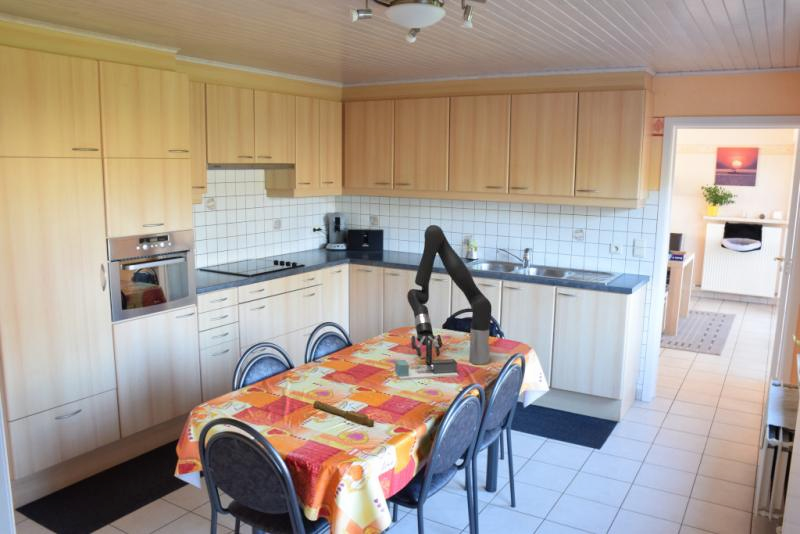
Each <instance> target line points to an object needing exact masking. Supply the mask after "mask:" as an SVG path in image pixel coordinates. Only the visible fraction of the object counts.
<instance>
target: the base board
mask: <svg viewBox="0 0 800 534" xmlns="http://www.w3.org/2000/svg"><path fill="white" fill-rule="evenodd" d="M393 372H394V374H395V375H396V377H397V378H398V380H399V381H406V380H407V379H410V380H425V379H424V378H428V379H439V378H438V377H446V378H459V375H460V374H458V372H457V373H442V374H434V373H433V372H432V371H426V370H419V371H417V369H416V368H414V369H413V368H412V369H410V368H409V376H406V377H399V376H398V375H397V373H396V372H395V369H394V370H393ZM407 381H408V380H407Z"/></svg>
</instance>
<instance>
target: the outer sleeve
mask: <svg viewBox="0 0 800 534" xmlns="http://www.w3.org/2000/svg"><path fill="white" fill-rule="evenodd" d="M432 364H434V370H431V371H432V372H433V373H434V374H442V373H457V374H458V372H457V371H458V370H457V369H458V367H457V366H458V362H457V361H456V360H455V359H454V358H452V359H451V358H447V359H432Z"/></svg>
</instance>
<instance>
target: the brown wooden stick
mask: <svg viewBox="0 0 800 534" xmlns="http://www.w3.org/2000/svg"><path fill="white" fill-rule="evenodd" d="M312 406H313V408H316V409H319V410H321V409H322V411H324V412H328V413H330V414H331V413H332V414H334V415H337V416H341V417H343V418H345V419H346V420H347V421H349V422H351V423H355V424H358V425H360V424H361V425H360V426H366V425H367V426H368V427H373V426H374V424H375V420H374V419H372V418H369V416H368V415H367V414H364V413H360V412H359V411H354V410H343V409H341V408H338V407H336V406H334V405H331V404H328V403H325V402H322V401H320V400H315V401H314V402H313V405H312ZM365 424H366V425H365Z"/></svg>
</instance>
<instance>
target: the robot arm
mask: <svg viewBox="0 0 800 534" xmlns="http://www.w3.org/2000/svg"><path fill="white" fill-rule="evenodd" d="M437 254H438V257H439V258H440V260H441V264H442V265H443V267H444V269H445V271H446V273H447V274H448V276H449V277H450V279H451V280H452V281H453V282H454V284H455V285H456V286H457V287H458V288H459V289H460V291H461V292H462V293H463V295H464V296H465V298H466V300H467V301H468V303H469V306H470V307H471V310H472V315H471V316H472V317H471V318H472V319H471V323H470V331H469V332H470V334H469V335H470V336H469V338H470V339H469V353H468V354H469V357H468V362H469V363H471V364H474V365H477V366H478V365H481V366H482V365H487V364H490V353H491V344H490V327H491V321H492V303H491V302H490V300H489V299H488V298H487V297H486V296H485V294H483V292H482V290H480V288H479V287H478V286H477V285H476V283H475V281H474V279H473V276H472V273H470V270H469V269H468V267H467V265H466V264H465V262H464V261H463V260H462V258H461V257H460V256H459V254H458V253H457V252H456V251H455V250H454V249H453V246H451V244H450V243H449V240H448V239H447V236H446V235H445V233H444V230H443V229H442V228H441V227H440V226H439V225H436V224H432V225H431V224H430V225H429V226H427V227H426V229H425V231H424V246H423V253H422V254H421V255H422V256H421V258H420V261H419V265H418V268H417V270H416V271H417V272H416V275H415V278H414V283H415V285H416V286H419V287H421V289H417V288H416V289H415V288H412V289H411V288H410V289H409V291H407V294H406V295H407V296H406V297H407V302H408V304H409V306H410V308H411V310H412V312H413V315H414V325H415V330H416V335H417V336H415V335H412V336H411V339H410V340H411V341H410V342H411V348H412V350H416V354H417V355H416V356H418V358H421V357H422V351H421V350H422V349H421V347H422V346H426V340H428V339H431V340H432V348H434V349H435V351H434V352H435V355H436V357H439V356H440V354H441V351H440V350H441V348H442V347H443V345H444V344H443V342H442V337H441V335H440V334H437V335H434V332H433V326H432V322H431V317H430V314H429V309H428V307H427V306H426V304H427V303H428V302H429V300H430V292H429V291H430V290H429V289H430V281H431V279H432V273H433V269H434V264H435V259H436V256H437ZM416 341H418V344H417V345H416Z"/></svg>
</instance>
